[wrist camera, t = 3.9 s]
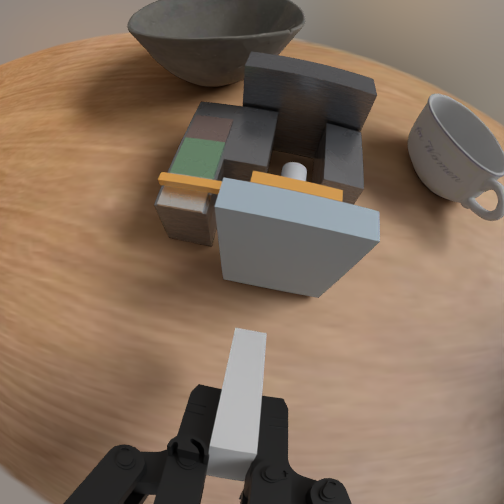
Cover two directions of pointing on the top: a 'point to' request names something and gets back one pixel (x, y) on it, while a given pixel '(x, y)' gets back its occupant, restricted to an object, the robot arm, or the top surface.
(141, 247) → the top surface
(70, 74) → the top surface
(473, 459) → the top surface
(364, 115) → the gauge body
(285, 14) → the bowl
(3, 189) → the top surface
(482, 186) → the teacup
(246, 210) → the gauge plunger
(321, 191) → the orange bar
